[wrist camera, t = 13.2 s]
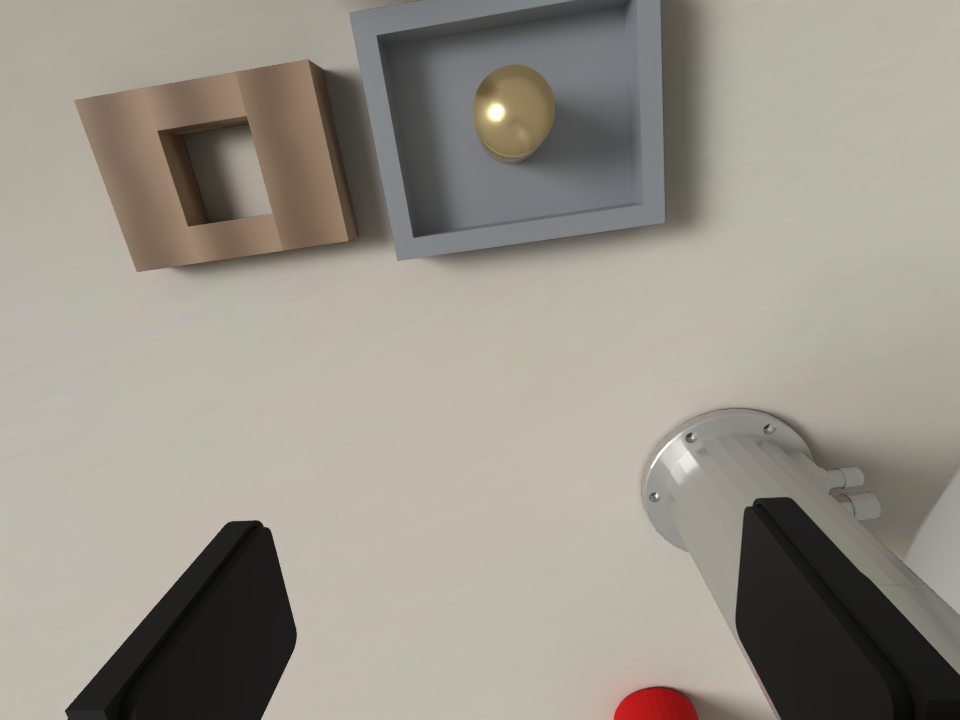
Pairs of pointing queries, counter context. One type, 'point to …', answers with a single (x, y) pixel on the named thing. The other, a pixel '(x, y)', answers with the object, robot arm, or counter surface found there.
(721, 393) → the counter surface
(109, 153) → the block
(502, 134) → the pin
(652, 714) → the soda can
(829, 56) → the counter surface
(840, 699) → the robot arm
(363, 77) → the slate tray
